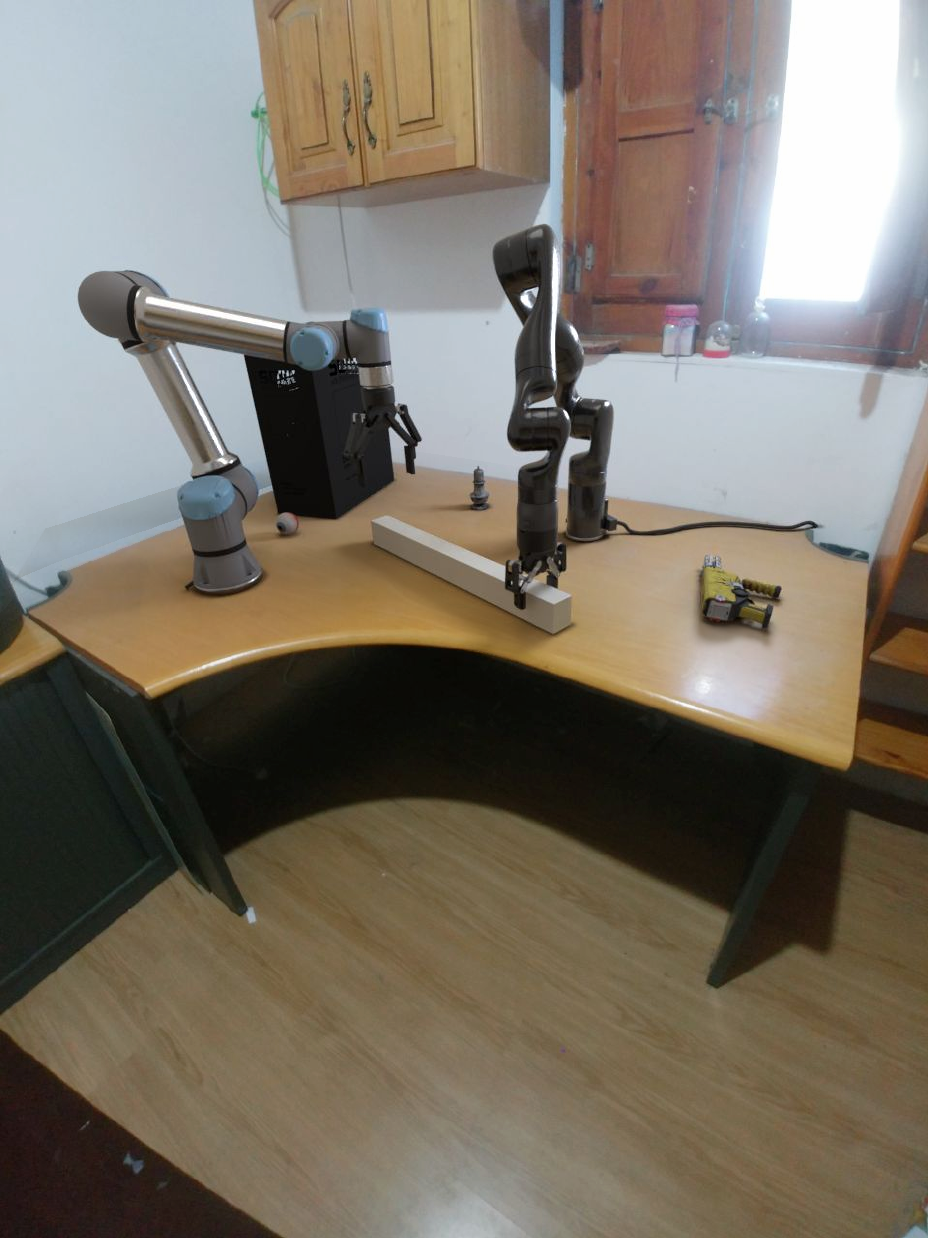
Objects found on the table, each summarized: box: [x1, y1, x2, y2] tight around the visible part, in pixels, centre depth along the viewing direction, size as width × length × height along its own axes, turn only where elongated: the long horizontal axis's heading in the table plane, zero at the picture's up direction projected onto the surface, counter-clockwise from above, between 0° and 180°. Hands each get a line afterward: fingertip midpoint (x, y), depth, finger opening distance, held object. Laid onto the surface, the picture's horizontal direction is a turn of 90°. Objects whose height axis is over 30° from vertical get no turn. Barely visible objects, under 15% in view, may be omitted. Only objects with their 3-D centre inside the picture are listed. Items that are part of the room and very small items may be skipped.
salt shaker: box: [469, 465, 491, 510], centre depth 173 cm, size 6×6×12 cm
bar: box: [370, 515, 573, 635], centre depth 135 cm, size 63×5×6 cm, turn 40°
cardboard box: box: [243, 354, 395, 520], centre depth 181 cm, size 38×20×45 cm, turn 159°
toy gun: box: [700, 553, 783, 630], centre depth 120 cm, size 5×24×15 cm
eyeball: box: [275, 512, 300, 536], centre depth 163 cm, size 6×6×6 cm
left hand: (387, 479), depth 144 cm, fingers open, 13 cm apart
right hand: (536, 600), depth 117 cm, fingers open, 8 cm apart
